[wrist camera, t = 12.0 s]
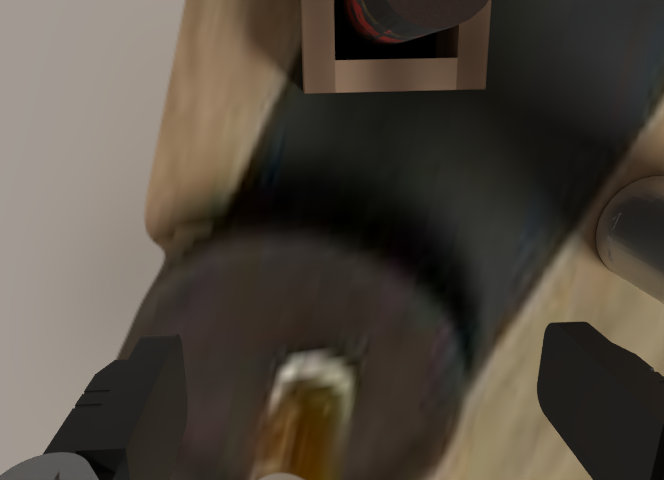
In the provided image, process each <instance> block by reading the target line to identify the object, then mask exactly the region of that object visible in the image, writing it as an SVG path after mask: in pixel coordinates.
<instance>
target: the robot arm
mask: <svg viewBox="0 0 664 480" xmlns="http://www.w3.org/2000/svg"><path fill="white" fill-rule="evenodd" d="M596 245H597V250H598V253H599V255H600V258H601V260H602V261H603V263H604V264H605V265H606V266H607V268H608V269H610V270H611V271H613V272H614V273H615V274H617V275H619V276H620V277H622V278H623V279H625V280H627V281H628V282H630V283H632V284H633V285H635V286H636V287H638V288H640V289H641V290H643V291H644V292H646V293H647V294H649V295H651V296H652V297H654V298H655V299H657V300H659V301H660V302H662V303H664V176H651V177H647V178H643V179H640V180H637V181H635V182H633V183H631V184H629V185H628V186H626V187H625V188H623V189H622V190H620V191H619V192H618V193H617V194H616V195H615V196H614V197H613V198H612V199H611V200H610V202H609V203H608V205H607V206H606V207H605V209H604V211H603V213H602V215H601V217H600V219H599V223H598V227H597V231H596ZM537 394H538V400H539V404H540V407H541V409H542V411H543V413H544V414H545V416H546V417H547V418H548V420H549V421H550V422H551V424H552V425H553V427H554V428H555V429H556V431H557V432H558V433H559V435H560V436H561V437H562V439H563V440H564V441H565V443H566V444H567V445H568V447H569V448H570V449H571V451H572V452H573V453H574V455H575V456H576V457H577V459H578V460H579V461H580V463H581V464H582V465H583V467H584V468H585V469H586V471H587V472H588V474H589V475H590V476H591V478H592V479H593V480H664V377H663V376H662V375H661V374H660V373H658V372H654V369H653V368H652V367H651V366H650V365H648V364H647V363H646V362H645V361H644V360H642V359H641V358H640V357H639V356H637V355H636V354H634V353H632V352H630V351H628V350H626V349H624V348H622V347H620V346H618V345H616V344H614V343H612V342H610V341H609V340H608V339H607V338H606V337H604V336H603V335H602V334H601V333H600V332H598V331H597V330H596V329H595V328H594V327H592V326H591V325H590V324H589V323H587V322H559V323H550V324H549V325H548V326H547V327H546V330H545V333H544V340H543V347H542V354H541V361H540V368H539V375H538V382H537ZM186 421H187V390H186V380H185V370H184V359H183V349H182V342H181V338H180V336H179V335H178V334H177V335H147V336H142V337H141V338H140V339H139V341H138V343H137V345H136V346H135V348H134V350H133V352H132V353H131V355H130V357H129V358H128V360H114V361H113V362H112V363H110V364H109V365H107V366H106V367H105V368H103V369H102V370H101V371H99V372H98V373H97V374H95V376H94V377H93V379H92V380H91V382H90V383H89V385H88V386H87V388H86V389H85V391H84V394H82V396H81V397H80V398H79V400H78V401H77V403H76V405H75V408H74V409H72V411H71V412H70V414H69V415H68V417H67V418H66V420H65V421H64V423H63V425H62V426H61V427H60V429H59V430H58V432H57V434H56V435H55V436H54V438H53V440H52V441H51V443H50V444H49V446H48V447H47V449H46V450H45V452H44V453H43V455H40V456H37V457H33V458H31V459H28V460H26V461H24V462H21V463H19V464H17V465H15V466H14V467H12V468H10V469H9V470H7V471H6V472H4V473H3V474H2V475H0V480H170V477H171V474H172V470H173V467H174V464H175V461H176V457H177V454H178V451H179V447H180V444H181V441H182V437H183V434H184V431H185V427H186Z"/></svg>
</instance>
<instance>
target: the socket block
mask: <svg viewBox="0 0 664 480" xmlns="http://www.w3.org/2000/svg"><path fill="white" fill-rule="evenodd" d="M300 14H301V41H302V69H303V91H304V93H345V92H387V91H428V90H469V89H486V74H487V59H488V44H489V29H490V15H491V0H489V1H488V2H487V4H486V5H485V6H484V8H482V9H481V10H480V11H479V12H478V13H477V14H475V15H474V16H473V17H472V18H471V19H469V20H467V21H465V22H463V23H461V24H459V25H457V26H454V27H451V28H448V29H445V30H441V31H438V32H436V57H435V58H424V59H375V60H335V32H334V0H300Z"/></svg>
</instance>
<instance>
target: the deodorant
mask: <svg viewBox="0 0 664 480" xmlns="http://www.w3.org/2000/svg"><path fill="white" fill-rule="evenodd" d="M488 1H489V0H344V4H343V5H344V11H345V17H346V19H347V21H348V24H349V26H350V28H351V29H352V30H353V32H354V33H355V34H356V35H357V36H358V37H359V38H361V39H362V40H363V41H364V42H367V43H369V44H372V45H374V46H383V47H386V46H391V45H396V44H399V43H403V42H406V41H409V40H412V39H415V38H419V37H422V36H425V35H428V34H432V33H435V32H438V31H441V30H445V29H448V28H451V27H454V26H457V25H459V24H461V23H463V22H465V21H467V20H469V19H471V18H472V17H473V16H474V15H475V14H477V13H478V12H479V11H480V10H481V9H482V8H484V6H485V5H486V4H487V2H488Z"/></svg>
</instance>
